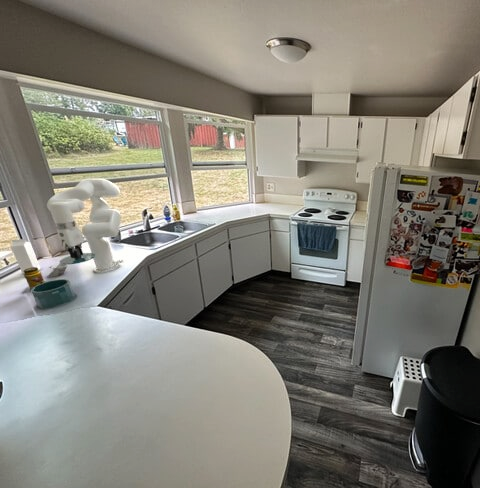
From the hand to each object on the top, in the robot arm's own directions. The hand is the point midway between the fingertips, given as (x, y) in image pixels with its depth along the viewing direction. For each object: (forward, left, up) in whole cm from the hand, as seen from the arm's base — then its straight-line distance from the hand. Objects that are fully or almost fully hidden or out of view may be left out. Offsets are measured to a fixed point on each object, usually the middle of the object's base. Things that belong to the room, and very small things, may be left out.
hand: (77, 256), depth 140 cm
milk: (+16, -50, -19) cm, 56 cm away
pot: (+14, +8, -19) cm, 25 cm away
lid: (0, 0, -2) cm, 2 cm away
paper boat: (+6, -34, -19) cm, 39 cm away
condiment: (+18, -19, -19) cm, 32 cm away
